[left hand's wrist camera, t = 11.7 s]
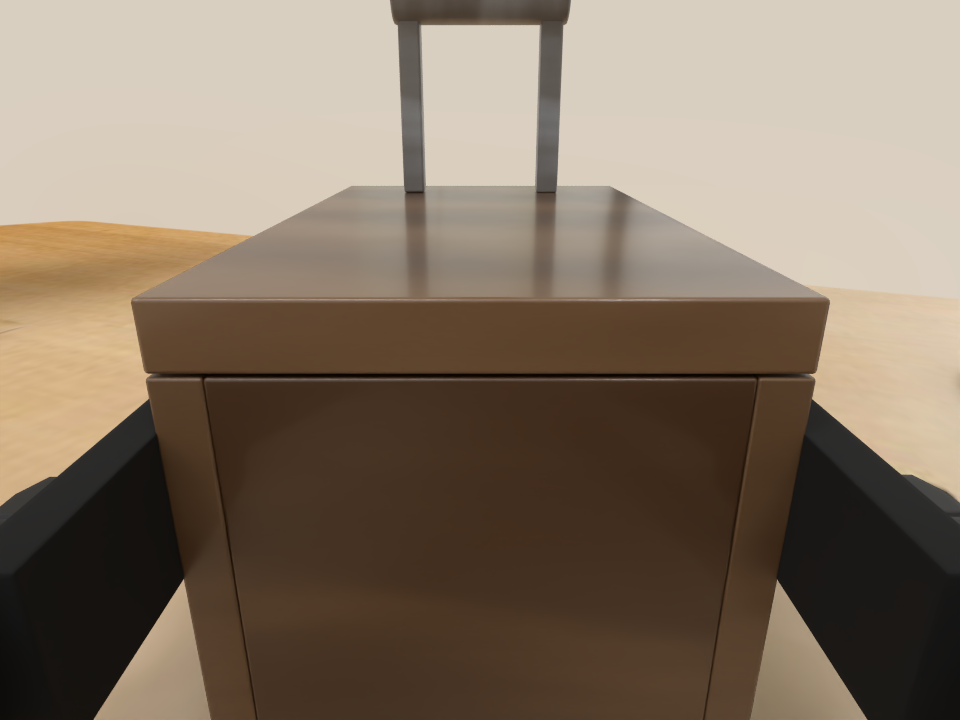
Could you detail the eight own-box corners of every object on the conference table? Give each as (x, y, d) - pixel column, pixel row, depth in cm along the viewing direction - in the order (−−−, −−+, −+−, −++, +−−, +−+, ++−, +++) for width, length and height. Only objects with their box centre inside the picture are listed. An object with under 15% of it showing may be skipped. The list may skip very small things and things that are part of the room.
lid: (352, 217, 25) (335, -28, 22) (608, 217, 25) (625, -28, 22) (142, 375, 10) (-1, -369, 7) (817, 375, 10) (962, -370, 7)
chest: (364, 430, 28) (349, 220, 25) (596, 430, 28) (611, 220, 25) (225, 801, 13) (143, 378, 10) (735, 802, 13) (816, 378, 10)
